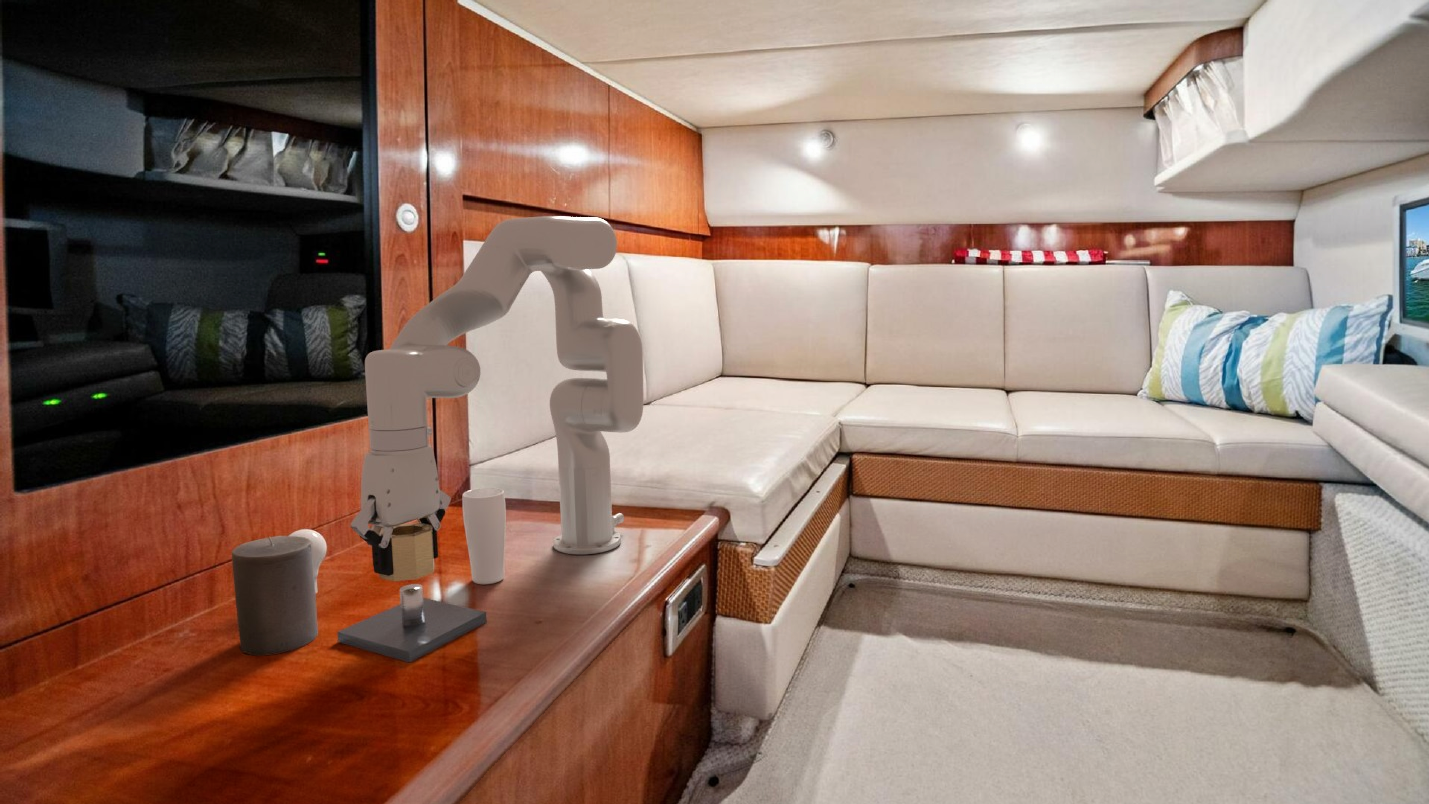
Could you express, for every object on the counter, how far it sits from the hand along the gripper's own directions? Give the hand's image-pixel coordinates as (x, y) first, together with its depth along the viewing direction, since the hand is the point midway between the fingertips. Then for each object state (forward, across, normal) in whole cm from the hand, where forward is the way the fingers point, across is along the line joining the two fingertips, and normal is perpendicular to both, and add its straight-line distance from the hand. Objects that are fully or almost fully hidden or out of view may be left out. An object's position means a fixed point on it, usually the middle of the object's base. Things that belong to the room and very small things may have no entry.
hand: (406, 564), depth 110 cm
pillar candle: (+11, +9, -15) cm, 21 cm away
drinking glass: (+10, -21, -5) cm, 23 cm away
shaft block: (+10, -1, 0) cm, 10 cm away
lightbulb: (+10, -3, -26) cm, 28 cm away
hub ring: (+1, 0, 0) cm, 1 cm away
